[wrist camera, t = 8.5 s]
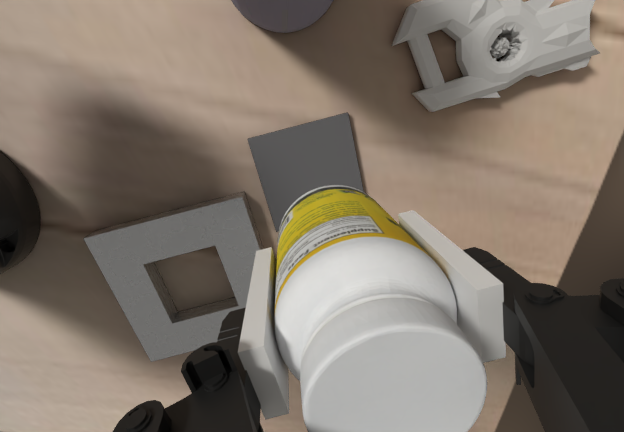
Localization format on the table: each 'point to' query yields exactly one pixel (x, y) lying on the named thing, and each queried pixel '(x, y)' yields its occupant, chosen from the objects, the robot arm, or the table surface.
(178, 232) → the housing plate
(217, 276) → the table surface
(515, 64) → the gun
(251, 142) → the rubber mat
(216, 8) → the table surface
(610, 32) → the table surface
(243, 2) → the container
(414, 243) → the pill bottle
